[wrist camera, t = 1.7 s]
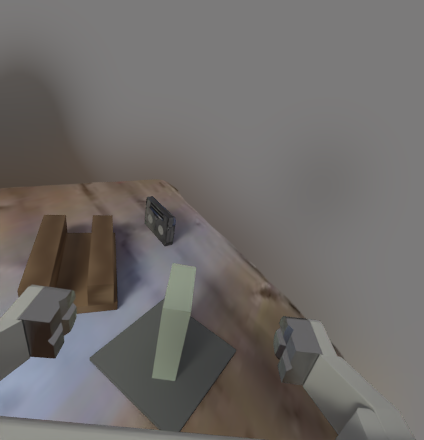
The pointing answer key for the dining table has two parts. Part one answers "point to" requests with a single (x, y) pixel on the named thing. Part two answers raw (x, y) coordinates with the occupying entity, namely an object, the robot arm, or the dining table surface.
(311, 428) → the dining table surface
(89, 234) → the rack
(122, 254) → the dining table surface
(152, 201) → the mini dv tape
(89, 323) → the dining table surface
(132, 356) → the mat
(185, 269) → the tall sage green pillar
